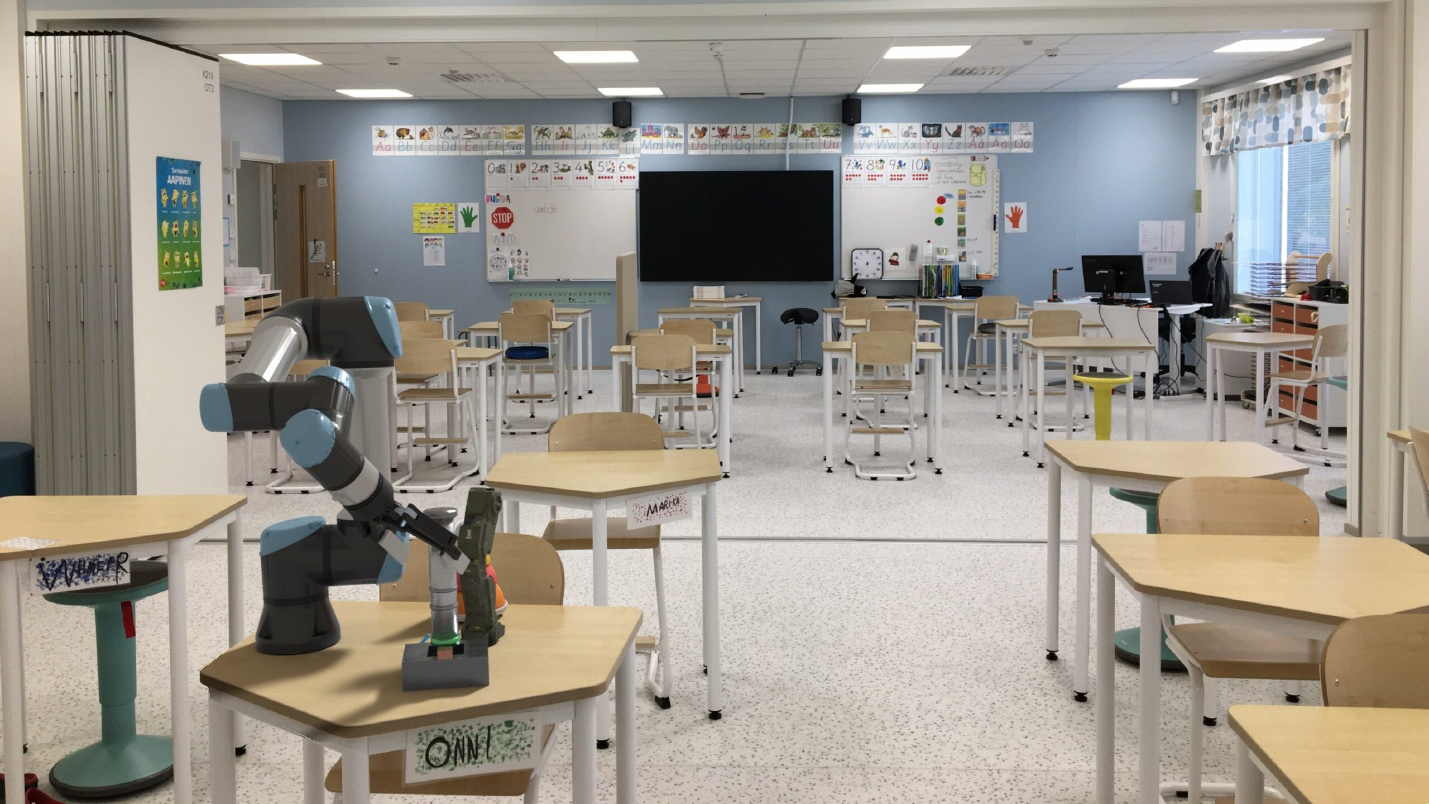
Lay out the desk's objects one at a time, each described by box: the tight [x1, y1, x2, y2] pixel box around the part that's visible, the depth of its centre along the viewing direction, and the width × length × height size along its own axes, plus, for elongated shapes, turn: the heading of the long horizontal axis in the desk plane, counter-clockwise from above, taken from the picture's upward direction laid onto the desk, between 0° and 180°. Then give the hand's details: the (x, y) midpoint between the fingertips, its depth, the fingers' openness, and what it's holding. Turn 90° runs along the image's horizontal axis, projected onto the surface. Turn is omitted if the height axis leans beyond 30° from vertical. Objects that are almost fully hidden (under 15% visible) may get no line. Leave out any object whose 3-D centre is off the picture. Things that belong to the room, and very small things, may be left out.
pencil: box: [419, 631, 432, 643], centre depth 213 cm, size 1×17×1 cm, turn 177°
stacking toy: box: [455, 520, 509, 623], centre depth 233 cm, size 14×14×20 cm
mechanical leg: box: [456, 486, 506, 648], centre depth 217 cm, size 14×7×30 cm, turn 168°
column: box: [422, 506, 461, 647], centre depth 195 cm, size 6×6×23 cm
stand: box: [401, 638, 490, 693], centre depth 197 cm, size 10×14×6 cm
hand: (435, 562), depth 193 cm, fingers open, 13 cm apart
